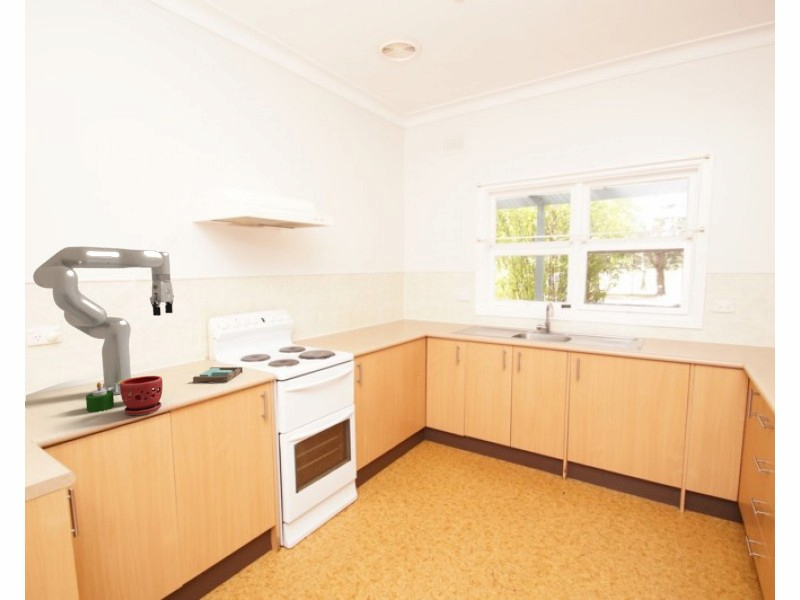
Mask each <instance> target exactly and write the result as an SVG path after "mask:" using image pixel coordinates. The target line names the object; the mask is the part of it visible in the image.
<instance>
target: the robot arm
mask: <svg viewBox="0 0 800 600" xmlns="http://www.w3.org/2000/svg"><path fill="white" fill-rule="evenodd" d="M170 265H171V264H170V254H169V253H168V252H167V251H157V250H148V249H147V250H146V249H127V248H119V247H99V246H67V247H64V248H62V249H60V250H59V251H57V252H56V253H55V254H53V255H52V256H50V258H48V259H47V260H46V261H45V262H44V263H42V264H41V265H39V266H38V267H37V268H36V269H35V270H34V272H33V275H32V278H33V279H32V280H33V281H34V283H35V284H36V286H38V287H40V288H43V289H52V297H53V300H54V303H55V305H56V306H57V308H59V309H60V310H62V311H63V317H64V319H65V321H66V322H67V324H69V325H70V326H71V327H73V328H75V329H76V330H79V331H80V332H82V333H84V334H85V335H88V336H89V337H91V338H94V339H98V340H99V339H100V340H104V341H103V344H102V347H101V359H102V372H103V373H102V376H103V383H102V386H101V389H106V390H107V391H113V396H117V395H121V391H120V385H119V384H118V382H119V381H121V380H124V379H129V378H132V376H131V375H132V374H131V373H132V372H131V358H130V357H131V356H130V336H131V330H132V329H131V326H130V325H131V324H130V323H129V322H128V321H127V320H126V319H124V318H121V317H113V316H108V313H107V311H106V309H104V307H102V306H101V305H100V304H97V303H96V302H94V301H93V300H91V299H90V298H88V297H86V296H85V295H84V294H83V293H81V291H80V289H79V277H78V274H77V273H76V270H74V269H129V268H140V269H141V268H150V269H151V282H152V284H151V296H150V298H149V301H150V304H151V307H152V315H153V316H161V314H162V313H161V303H165V305H164V308H165V314H173V310H174V309H173V305H174V304H173V303H174V297H175V296H174V291H173V284H172V281H171V266H170ZM96 390H98V388H96Z"/></svg>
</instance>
